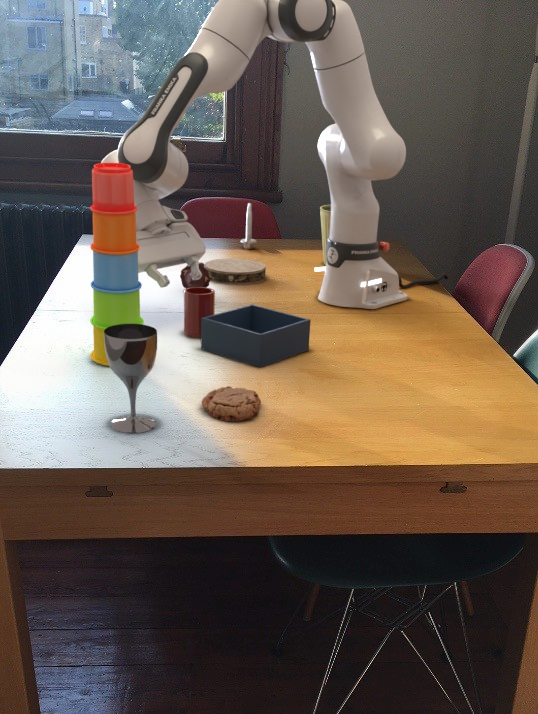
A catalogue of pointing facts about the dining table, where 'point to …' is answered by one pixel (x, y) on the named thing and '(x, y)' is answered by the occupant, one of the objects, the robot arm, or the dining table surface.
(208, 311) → the canister
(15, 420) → the dining table surface
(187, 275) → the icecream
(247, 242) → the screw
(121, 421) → the metal goblet
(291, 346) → the tote
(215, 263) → the wood slice
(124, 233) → the stacking cups
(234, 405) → the cookie
